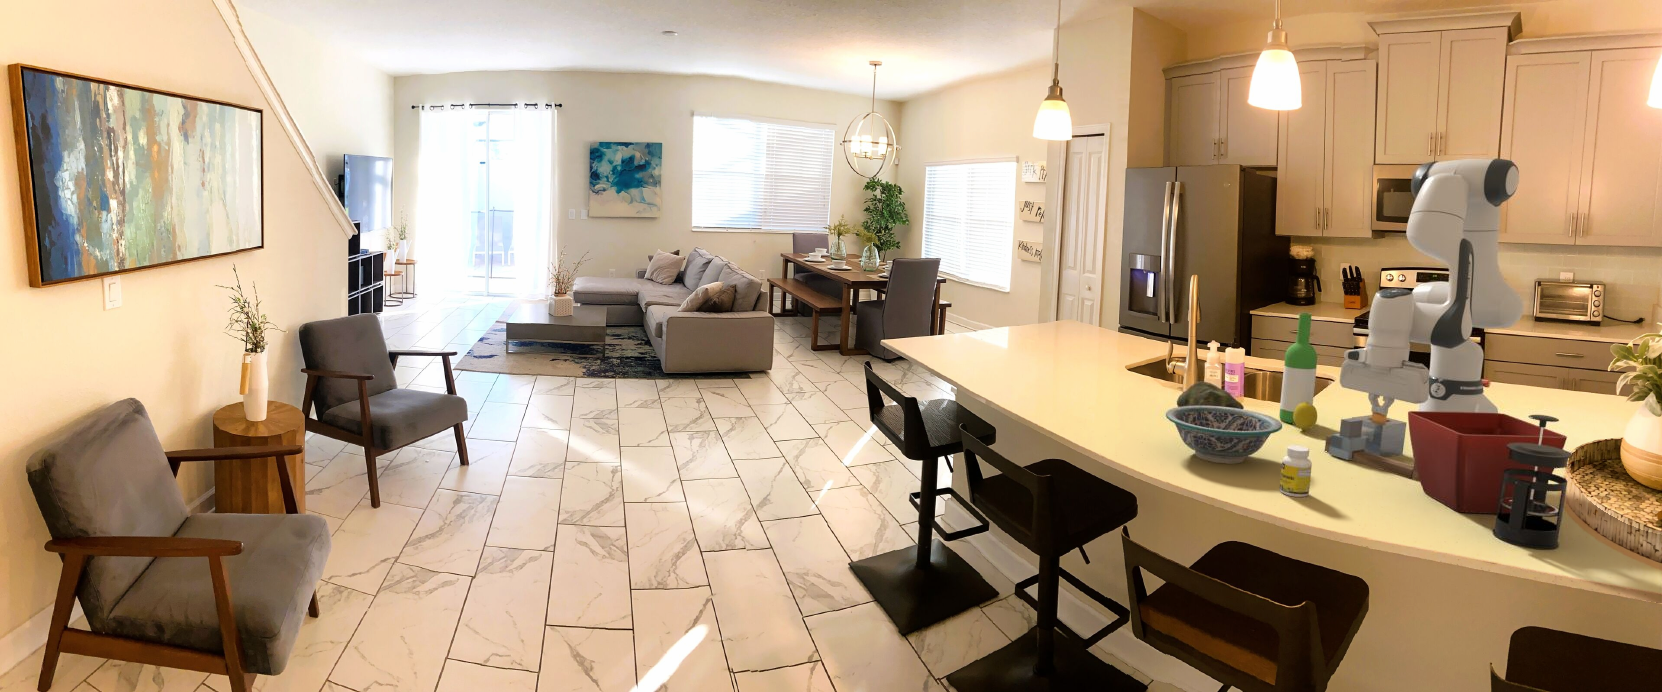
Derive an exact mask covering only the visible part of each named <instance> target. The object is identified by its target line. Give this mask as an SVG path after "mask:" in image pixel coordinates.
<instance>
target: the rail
mask: <svg viewBox="0 0 1662 692" xmlns="http://www.w3.org/2000/svg"><path fill="white" fill-rule="evenodd" d="M1331 435H1332V434H1330V435H1326V436H1325V443H1324V445H1325V446H1324V452H1325V451H1327V452H1329V447H1330V438H1331ZM1327 452H1326V453H1327ZM1353 460H1354V462H1356V461H1358V462H1357V463H1359V462H1360V464H1363V465H1366V464H1367V466H1369V465H1370V467H1372V466H1373V467H1372V468H1376V469H1380V470H1381V471H1382V470H1383V471H1385V472H1388V471H1389V472H1388V473H1393V474H1395V475H1399V476H1401V477H1405V478H1408V479H1412V480H1414V481H1420V479H1419V476H1418V472H1417V468H1416V465H1415V460H1414V461H1413V465H1412V464H1409V463H1405V462H1401V461H1398V460H1395V459H1391V458H1389V457H1382V456H1378V455H1375V454H1372V453H1368V452H1365V451H1361V450H1358V451H1352V459H1351V461H1353Z"/></svg>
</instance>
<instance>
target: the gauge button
mask: <svg viewBox="0 0 1662 692" xmlns="http://www.w3.org/2000/svg"><path fill="white" fill-rule="evenodd" d="M1371 415H1372V420H1373V421H1377V422H1386V419H1387V418H1388V414H1387V415H1381V414H1377V413H1373V412H1371Z"/></svg>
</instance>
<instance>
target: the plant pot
mask: <svg viewBox="0 0 1662 692" xmlns="http://www.w3.org/2000/svg"><path fill="white" fill-rule="evenodd" d="M1407 421H1408V430H1409V437H1410V443H1411V444H1410V445H1411V449H1412V455H1413V459H1414V461H1415V465H1416V468H1417V472H1418V476H1419V479H1420V480H1419V482H1420V485H1421V488H1422V490H1423V493H1424V494H1427V495H1428V496H1430V497H1432V498H1433V499H1435V500H1436V501H1438V502H1441V503H1442V504H1444V505H1446V506H1447V507H1449V508H1450V509H1453V510H1454V511H1456V512H1459V513H1470V514H1471V513H1477V514H1496V515H1497V511H1498V504H1499V497H1500V490H1501V483H1502V476H1503V470H1505V469H1509V468H1522V469H1531V470H1535V466H1531V465H1526V464H1522V463H1519V462H1516V461H1513V460H1511V459H1509V450H1510V449H1508V448H1507V444H1510V443H1532V444H1538V443H1539V437H1540V430H1541V427H1539V425H1536V424H1534V423H1531V422H1528V421H1525V420H1522V419H1519V418H1517V417H1514V416H1512V415H1509V414H1505V413H1501V412H1498V413H1478V412H1434V411H1417V410H1416V411H1415V410H1409V411H1408V412H1407ZM1567 438H1568V435H1567V436H1566V435H1564V434H1561V433H1559V432H1556V431H1553V430H1550V429H1548V428H1546V427H1545V428H1543V434H1542V441H1541V445H1546V446H1551V447H1555V448H1559V449H1562V450H1564V447H1565V444H1566V441H1567ZM1555 469H1556V468H1544V467H1537V470H1538V471H1543V472H1547V473H1551V474H1554V471H1555ZM1510 476H1512V477H1515V478H1518V479H1522V480H1526V481H1531V482H1533V477H1530V476H1521V475H1510ZM1536 479H1537V477H1536ZM1535 482H1536V480H1535ZM1514 486H1515V485H1513V484H1510V483H1508V482H1506V488H1505V494H1504V498H1513V492H1514ZM1534 492H1535V490H1534ZM1530 496H1531V490H1530ZM1530 496H1529V499H1530ZM1533 498H1534V493H1533ZM1510 512H1511V510H1509V509H1507V508H1505V507H1504V506H1503V508H1502V513H1510Z"/></svg>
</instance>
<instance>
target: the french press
mask: <svg viewBox="0 0 1662 692" xmlns="http://www.w3.org/2000/svg"><path fill="white" fill-rule="evenodd" d="M1528 419H1532V420H1534V421H1539V423H1538V426H1539V427H1541V430H1540V437H1539V443H1538V444H1532V443H1510V444H1507V448H1508V449H1510V450H1509V459H1511V460H1513V461H1516V462H1519V463H1522V464H1526V465H1531V466H1535V470H1531V469H1522V468H1509V469H1505V470H1503V476H1502V483H1501V490H1500V497H1499V504H1498V511H1497V514H1496V517H1495V525H1494V526H1495V527H1494V528H1493V530H1492V535H1493V536H1494V538H1497V539H1498V540H1501V541H1503V542H1506V543H1508V544H1512V545H1514V546H1517V547H1522V548H1527V549H1534V550H1541V551H1542V550H1544V551H1545V550H1546V551H1547V550H1548V551H1549V550H1556V549H1558V548H1560V542H1559V537H1560V531H1561V525H1562V520H1563V513H1564V506H1565V501H1566V494H1567V488H1568V480H1567V479H1566V478H1564V477H1563V476H1560V475H1558V474H1554V473H1552V474H1551V473H1547V472H1543V471H1538V470H1537V467H1544V468H1555V469H1563V468H1566V467H1567V466H1568V459H1570V458H1572V457H1573V454H1572V453H1571V452H1569V451H1567V450H1564V449H1563V450H1562V449H1559V448H1555V447H1551V446H1546V445H1541V441H1542V434H1543V428H1545V429H1546V427H1547V423H1549V422H1550V423H1556V422H1559V421H1560V420H1559V419H1558V418H1557V417H1554V416H1551V415H1545V414H1531V415H1530V414H1529V415H1528ZM1510 475H1521V476H1530V477H1533V482H1531V481H1526V480H1522V479H1518V478H1515V477H1512V476H1510ZM1536 477H1537V479H1536ZM1535 480H1536V482H1535ZM1549 481H1550V482H1553V483H1549ZM1506 482H1508V483H1510V484H1513V485H1515V486H1514V492H1513V498H1504V494H1505V488H1506ZM1530 490H1531V496H1530ZM1534 490H1535V492H1534ZM1547 492H1561V493H1560V498H1559V504H1558V507H1557V506H1555V505H1552V504H1550V503H1546V500H1547ZM1533 493H1534V498H1533ZM1529 496H1530V499H1529ZM1503 506H1504V507H1505V508H1507V509H1509V510H1511V512H1510V513H1502V508H1503ZM1555 517H1557V518H1556V523H1555V522H1554V521H1551V520H1549V519H1545V518H1555Z"/></svg>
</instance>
